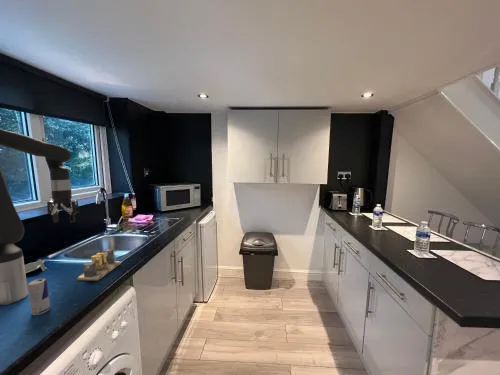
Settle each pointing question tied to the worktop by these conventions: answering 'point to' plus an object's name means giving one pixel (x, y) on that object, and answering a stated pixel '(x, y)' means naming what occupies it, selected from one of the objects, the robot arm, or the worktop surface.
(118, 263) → the coupling base
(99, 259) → the slotted brass block
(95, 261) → the shafts
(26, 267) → the metal bracket
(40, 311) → the energy drink
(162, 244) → the worktop surface
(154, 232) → the worktop surface
